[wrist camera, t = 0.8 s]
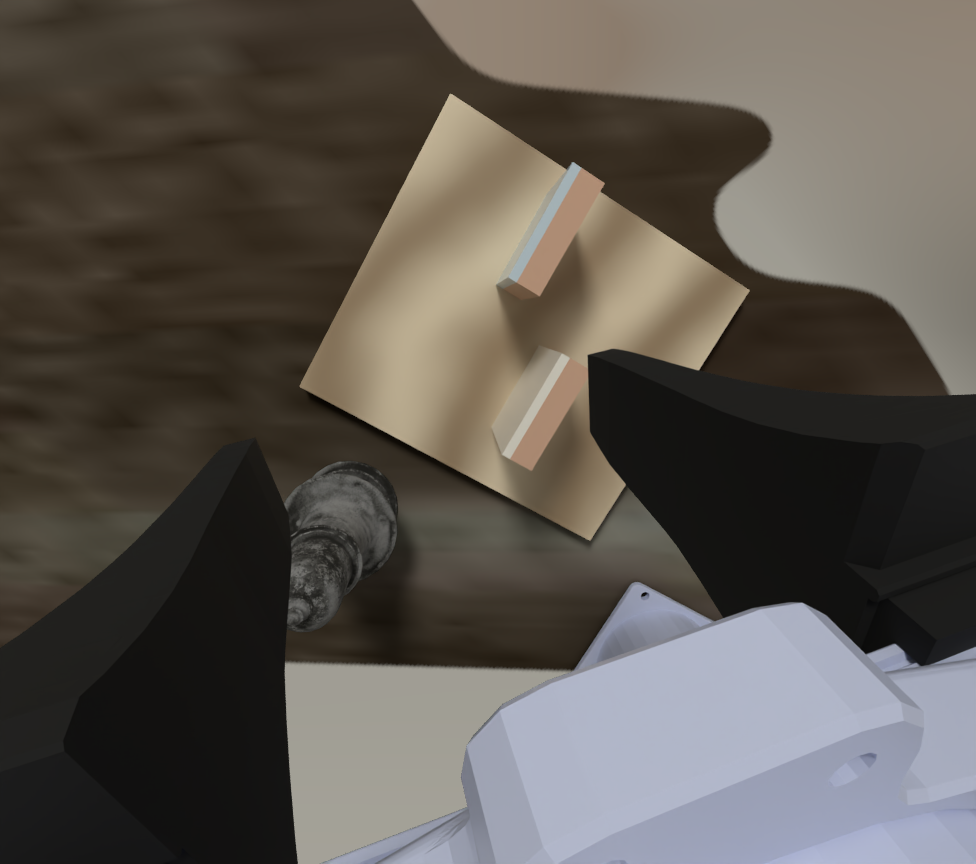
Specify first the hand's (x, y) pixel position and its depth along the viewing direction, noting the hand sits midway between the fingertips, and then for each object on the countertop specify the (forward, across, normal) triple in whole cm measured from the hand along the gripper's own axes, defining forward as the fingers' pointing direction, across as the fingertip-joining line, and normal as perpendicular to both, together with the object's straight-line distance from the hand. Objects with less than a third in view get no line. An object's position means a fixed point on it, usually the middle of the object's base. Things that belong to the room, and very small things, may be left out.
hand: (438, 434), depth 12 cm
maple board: (+16, -7, +6) cm, 19 cm away
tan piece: (+17, -8, +1) cm, 19 cm away
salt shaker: (+16, +4, +13) cm, 21 cm away
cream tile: (+15, -6, +8) cm, 18 cm away
